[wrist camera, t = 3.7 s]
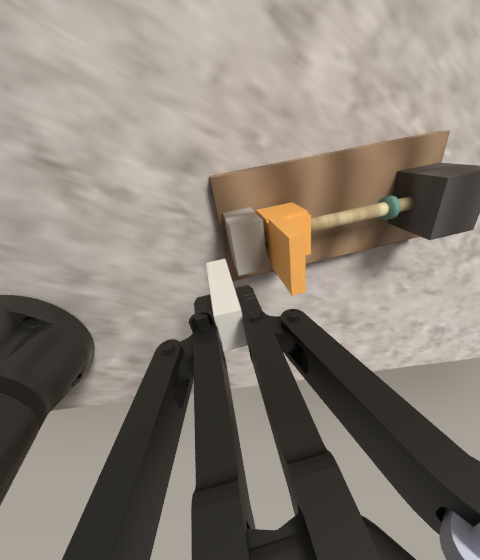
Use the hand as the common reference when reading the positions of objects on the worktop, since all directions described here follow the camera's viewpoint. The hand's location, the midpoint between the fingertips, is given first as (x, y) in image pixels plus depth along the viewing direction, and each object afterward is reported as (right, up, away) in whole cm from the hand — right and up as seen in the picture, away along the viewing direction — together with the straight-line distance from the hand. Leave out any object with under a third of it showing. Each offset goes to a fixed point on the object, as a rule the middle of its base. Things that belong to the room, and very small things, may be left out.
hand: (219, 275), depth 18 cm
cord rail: (+12, +8, +10) cm, 17 cm away
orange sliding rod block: (+6, +6, +7) cm, 11 cm away
